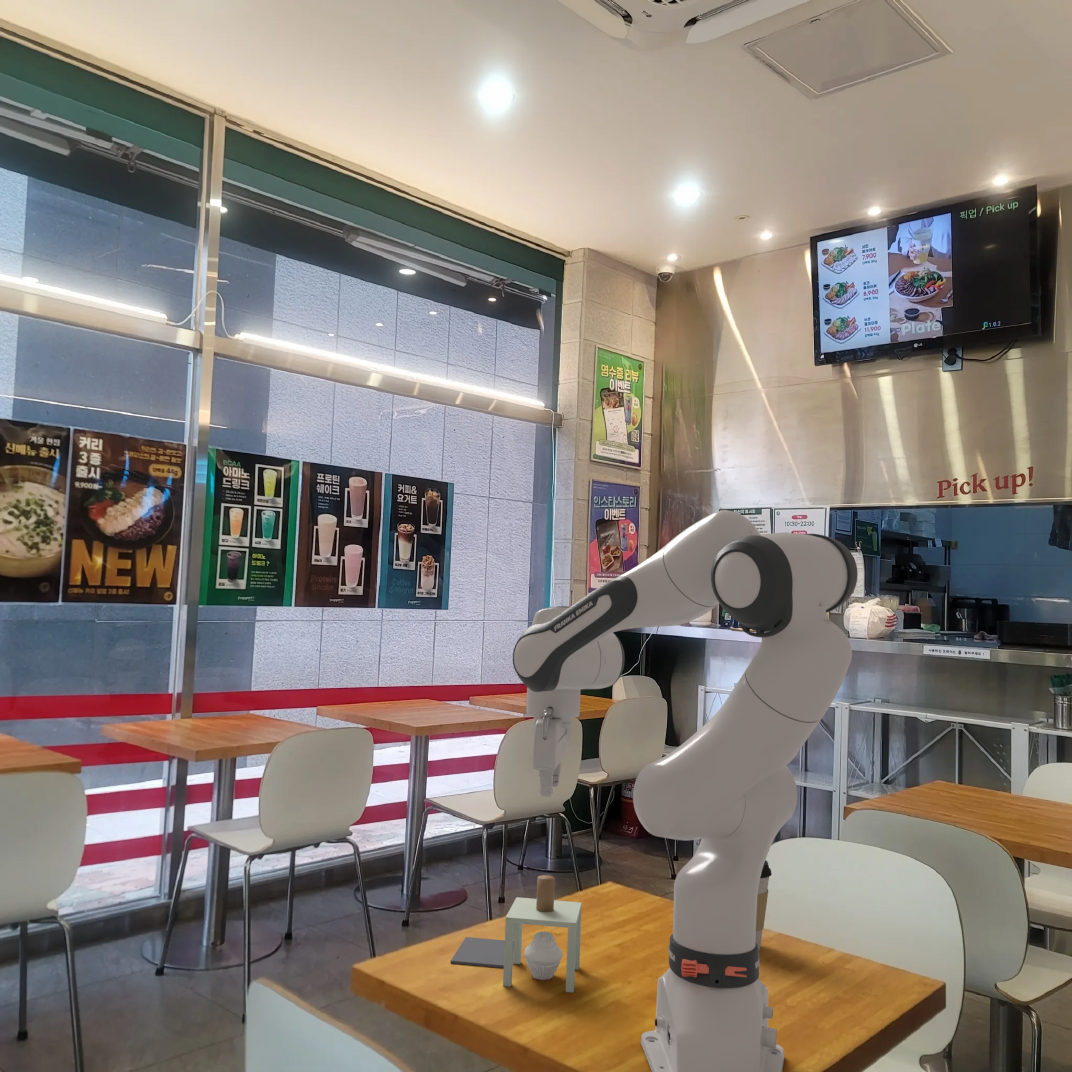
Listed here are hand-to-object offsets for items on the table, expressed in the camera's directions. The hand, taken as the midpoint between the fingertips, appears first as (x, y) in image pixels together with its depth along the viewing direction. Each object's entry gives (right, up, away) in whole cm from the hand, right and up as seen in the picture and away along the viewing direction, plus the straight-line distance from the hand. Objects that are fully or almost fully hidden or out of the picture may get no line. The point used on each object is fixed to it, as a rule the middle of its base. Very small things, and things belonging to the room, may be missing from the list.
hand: (549, 790), depth 150 cm
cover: (-1, -29, -3) cm, 29 cm away
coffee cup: (+35, -32, +15) cm, 50 cm away
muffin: (-1, -29, -3) cm, 29 cm away
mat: (-11, -29, +6) cm, 32 cm away
